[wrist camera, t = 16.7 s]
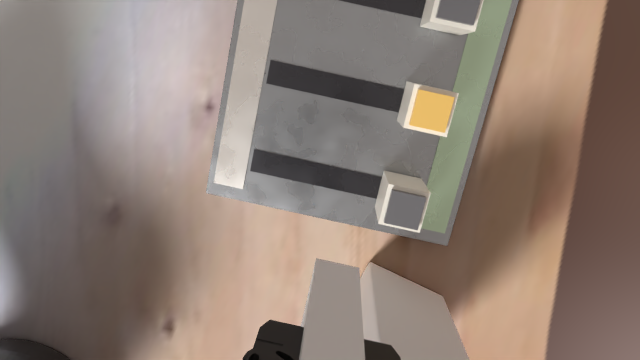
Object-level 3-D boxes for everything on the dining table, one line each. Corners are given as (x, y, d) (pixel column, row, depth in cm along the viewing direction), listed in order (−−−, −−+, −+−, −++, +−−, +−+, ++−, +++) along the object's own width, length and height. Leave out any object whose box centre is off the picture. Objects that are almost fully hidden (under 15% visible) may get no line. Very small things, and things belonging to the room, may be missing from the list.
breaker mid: (396, 120, 38) (404, 128, 33) (406, 81, 37) (415, 83, 33) (435, 128, 38) (448, 138, 33) (445, 89, 37) (460, 93, 33)
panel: (210, 188, 42) (205, 193, 40) (255, -80, 37) (251, -86, 35) (443, 239, 42) (447, 246, 40) (519, -22, 37) (526, -26, 35)
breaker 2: (419, 26, 37) (430, 20, 32) (430, -17, 36) (443, -29, 31) (459, 35, 37) (476, 31, 32) (470, -8, 36) (490, -19, 31)
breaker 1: (374, 206, 40) (378, 226, 35) (383, 170, 39) (389, 185, 34) (411, 214, 40) (420, 235, 35) (421, 178, 39) (432, 194, 34)
